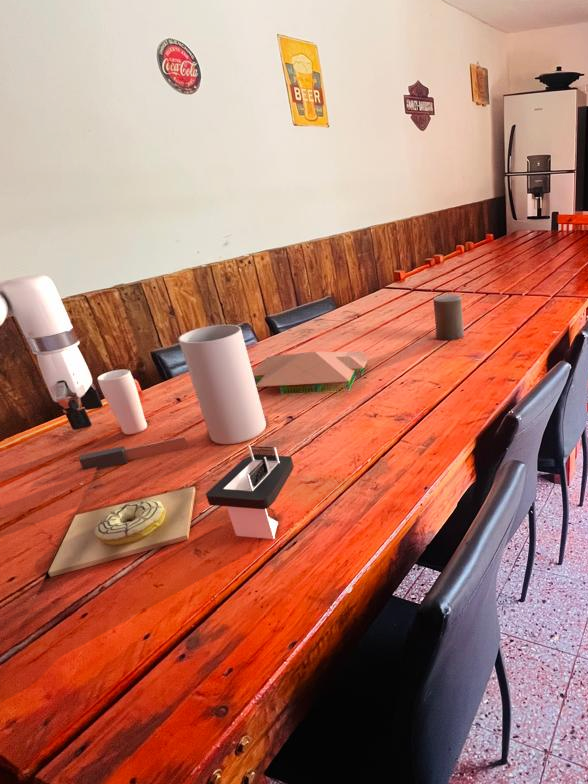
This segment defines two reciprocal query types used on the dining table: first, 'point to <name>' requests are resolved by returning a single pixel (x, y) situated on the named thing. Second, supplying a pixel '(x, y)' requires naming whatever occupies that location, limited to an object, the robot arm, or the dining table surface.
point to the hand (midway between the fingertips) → (88, 417)
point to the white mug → (123, 400)
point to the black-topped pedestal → (253, 492)
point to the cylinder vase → (223, 383)
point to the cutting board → (89, 551)
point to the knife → (129, 453)
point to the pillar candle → (448, 317)
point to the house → (310, 369)
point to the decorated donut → (130, 523)
